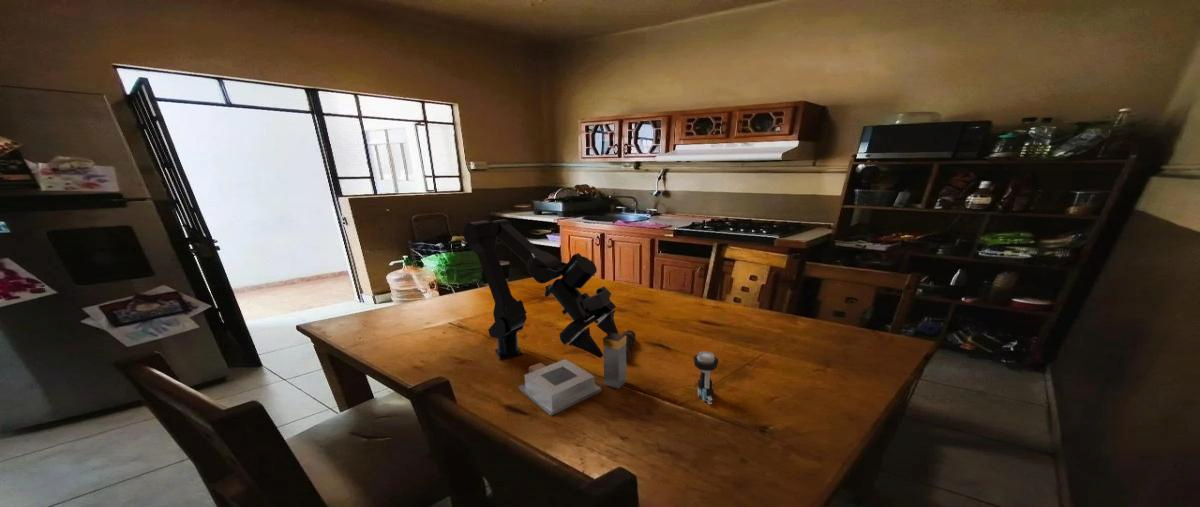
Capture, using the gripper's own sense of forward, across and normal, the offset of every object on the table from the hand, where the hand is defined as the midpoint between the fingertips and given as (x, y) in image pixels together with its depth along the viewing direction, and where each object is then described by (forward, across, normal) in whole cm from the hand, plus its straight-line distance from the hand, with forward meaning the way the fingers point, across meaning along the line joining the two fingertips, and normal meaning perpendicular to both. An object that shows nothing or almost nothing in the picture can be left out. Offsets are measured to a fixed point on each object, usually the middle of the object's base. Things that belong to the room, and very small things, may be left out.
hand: (611, 348), depth 92 cm
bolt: (+3, +17, +10) cm, 20 cm away
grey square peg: (+7, 0, +6) cm, 9 cm away
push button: (+22, +4, -9) cm, 24 cm away
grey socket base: (-2, -8, +14) cm, 16 cm away
